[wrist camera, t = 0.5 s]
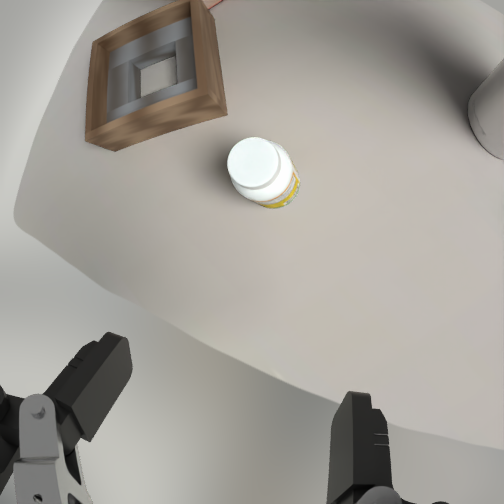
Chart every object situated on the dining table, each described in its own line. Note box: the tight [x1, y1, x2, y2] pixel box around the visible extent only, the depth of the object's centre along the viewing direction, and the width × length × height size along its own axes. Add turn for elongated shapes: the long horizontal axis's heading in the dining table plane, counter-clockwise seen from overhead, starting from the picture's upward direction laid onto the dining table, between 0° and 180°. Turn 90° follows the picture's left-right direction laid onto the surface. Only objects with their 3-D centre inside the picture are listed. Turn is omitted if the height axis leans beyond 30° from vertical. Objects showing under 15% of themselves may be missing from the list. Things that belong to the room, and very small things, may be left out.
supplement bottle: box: [227, 137, 300, 209], centre depth 28 cm, size 5×5×10 cm
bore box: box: [85, 0, 228, 151], centre depth 32 cm, size 16×16×6 cm
